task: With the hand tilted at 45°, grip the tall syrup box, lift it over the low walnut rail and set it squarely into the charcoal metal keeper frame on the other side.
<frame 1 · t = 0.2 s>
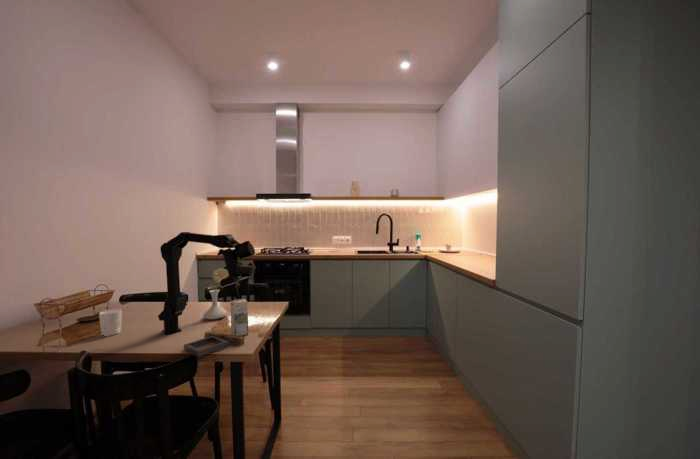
hand: (242, 296, 133), 15 cm above the table, tool tilted 15°, fingers open, 9 cm apart
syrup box: (240, 334, 129), on the table
walnut rail: (223, 341, 122), on the table
white cup: (111, 334, 135), on the table
flower in vase: (217, 318, 155), on the table
keeper frame: (206, 348, 115), on the table
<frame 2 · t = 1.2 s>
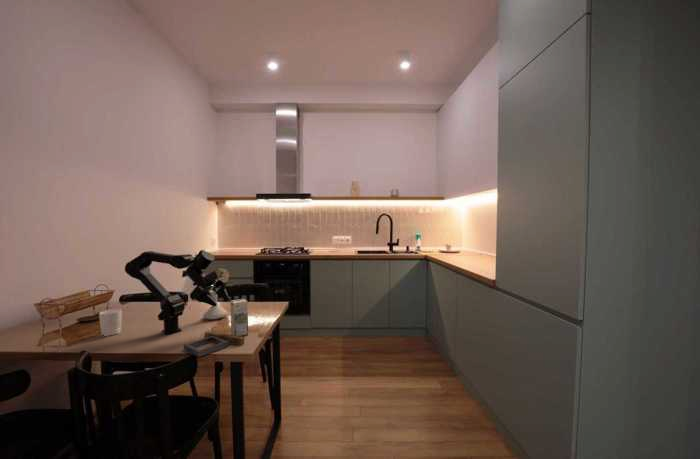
hand: (222, 302, 131), 13 cm above the table, tool tilted 45°, fingers open, 9 cm apart
nothing on the table moved.
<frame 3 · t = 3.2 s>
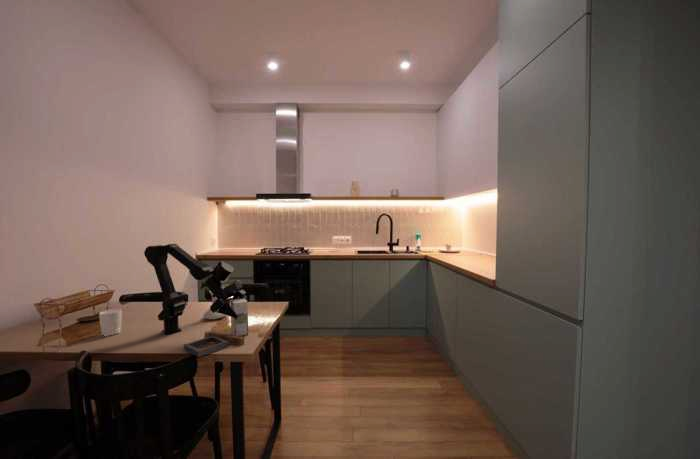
hand: (242, 314, 129), 8 cm above the table, tool tilted 45°, fingers closed on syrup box, 8 cm apart
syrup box: (240, 334, 129), on the table, touching gripper
everything else where it was.
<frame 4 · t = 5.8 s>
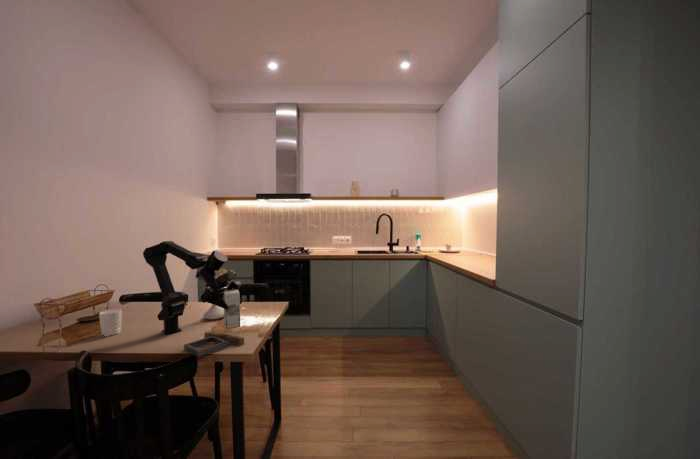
hand: (234, 306, 125), 13 cm above the table, tool tilted 45°, fingers closed on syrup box, 8 cm apart
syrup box: (232, 326, 125), point 5 cm above the table, touching gripper
everything else where it was.
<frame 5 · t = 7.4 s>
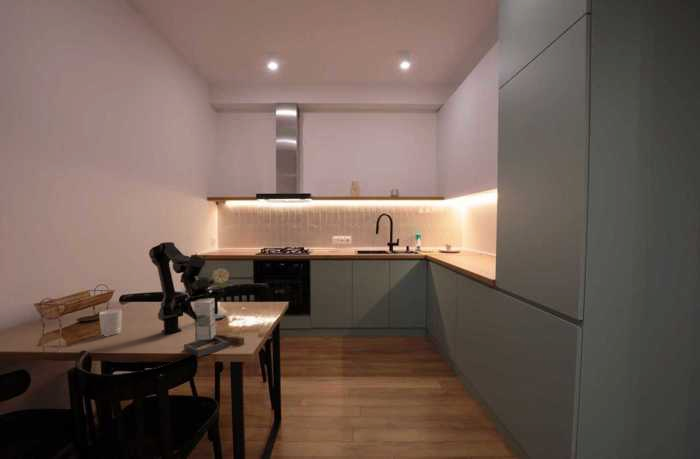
hand: (206, 316, 115), 12 cm above the table, tool tilted 45°, fingers closed on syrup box, 8 cm apart
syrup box: (205, 338, 116), point 4 cm above the table, touching gripper
everything else where it was.
when the fingers open (10 cm above the table, at t = 8.5 s): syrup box drops 1 cm, resting in keeper frame.
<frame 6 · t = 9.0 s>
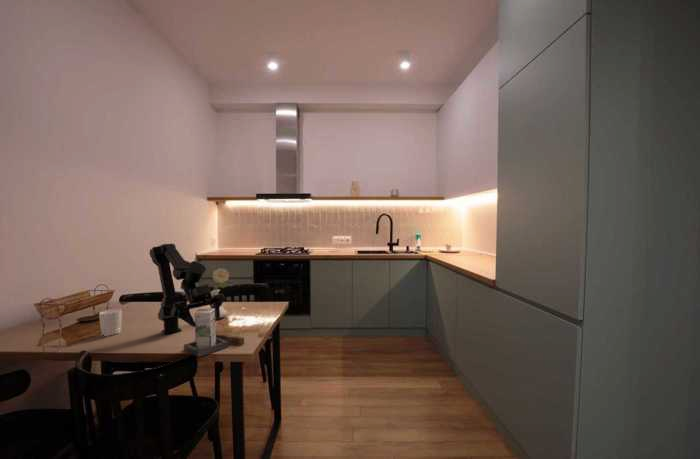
hand: (207, 323, 114), 10 cm above the table, tool tilted 45°, fingers open, 9 cm apart
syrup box: (206, 348, 116), resting in keeper frame
everything else where it was.
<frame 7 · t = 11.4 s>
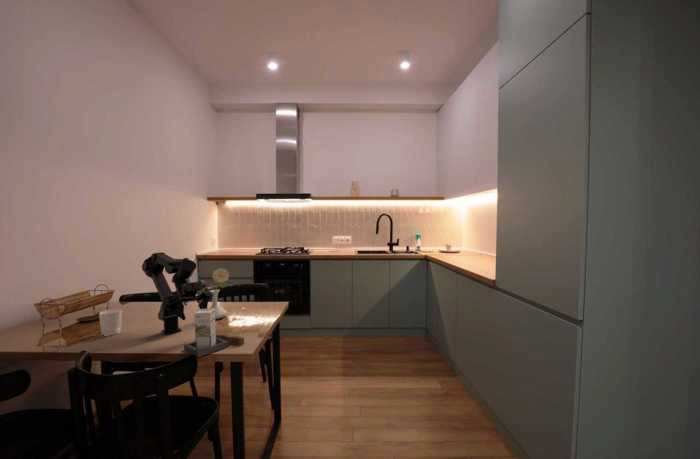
hand: (195, 317, 121), 10 cm above the table, tool tilted 40°, fingers open, 9 cm apart
nothing on the table moved.
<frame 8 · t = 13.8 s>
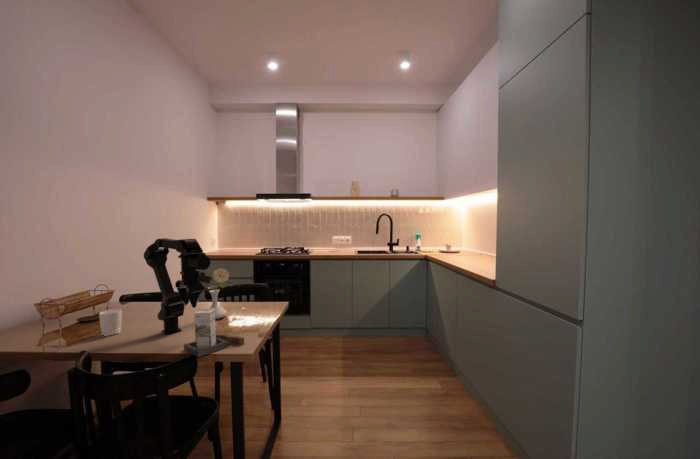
hand: (190, 305, 129), 13 cm above the table, tool pointing down, fingers open, 9 cm apart
nothing on the table moved.
at the end: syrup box 0.2 cm off-centre on the keeper frame, point 0.0 cm above the keeper frame's base; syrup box tilted 0°; the gripper is holding nothing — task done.
